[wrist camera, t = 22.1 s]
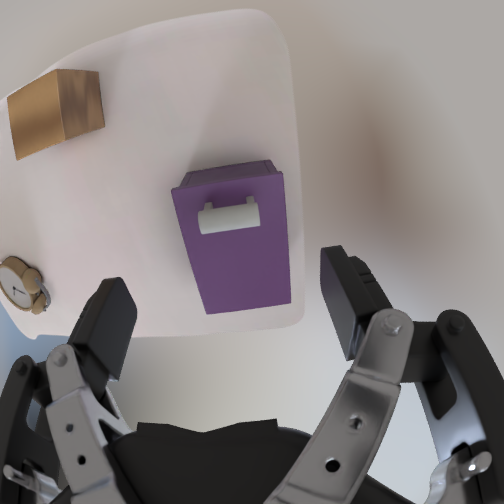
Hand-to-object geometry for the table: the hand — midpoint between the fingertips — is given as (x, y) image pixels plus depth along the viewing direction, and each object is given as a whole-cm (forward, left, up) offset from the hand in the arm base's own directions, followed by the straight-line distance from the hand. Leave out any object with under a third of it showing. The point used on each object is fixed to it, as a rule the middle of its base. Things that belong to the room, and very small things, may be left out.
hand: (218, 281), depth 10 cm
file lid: (+4, +8, -17) cm, 20 cm away
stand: (+12, -19, -26) cm, 34 cm away
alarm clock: (+46, -8, -26) cm, 53 cm away
